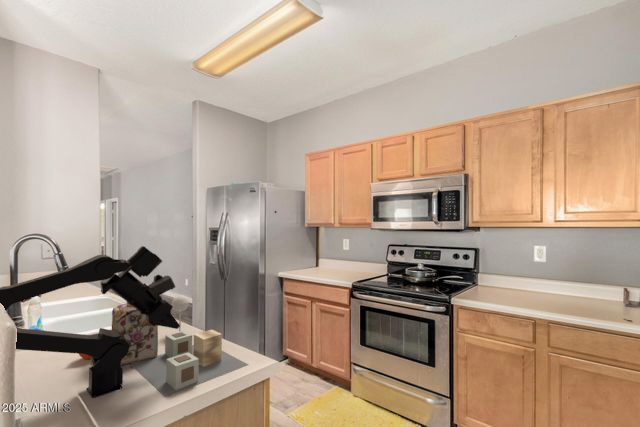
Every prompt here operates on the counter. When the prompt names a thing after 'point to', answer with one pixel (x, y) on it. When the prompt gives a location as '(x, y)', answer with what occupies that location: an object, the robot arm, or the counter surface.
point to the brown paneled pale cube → (178, 344)
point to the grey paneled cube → (182, 370)
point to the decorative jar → (135, 333)
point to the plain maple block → (208, 347)
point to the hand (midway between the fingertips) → (175, 323)
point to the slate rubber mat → (156, 372)
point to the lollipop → (180, 305)
